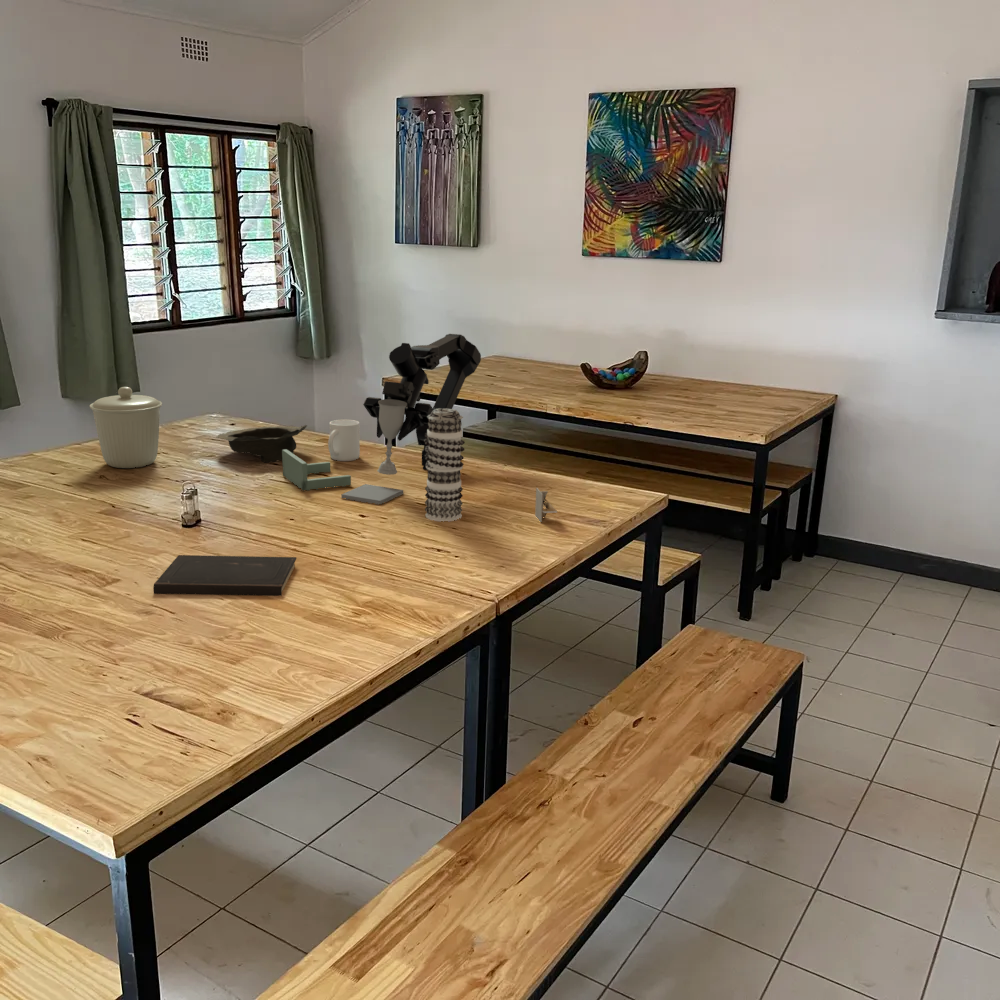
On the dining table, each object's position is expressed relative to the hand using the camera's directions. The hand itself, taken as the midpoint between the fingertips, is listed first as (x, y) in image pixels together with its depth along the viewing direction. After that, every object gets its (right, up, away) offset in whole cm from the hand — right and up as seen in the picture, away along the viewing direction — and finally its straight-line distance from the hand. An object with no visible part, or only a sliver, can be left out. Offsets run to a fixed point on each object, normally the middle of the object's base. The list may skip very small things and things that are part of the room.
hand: (388, 438), depth 244 cm
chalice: (-1, -8, +4) cm, 9 cm away
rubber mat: (-3, -14, -3) cm, 15 cm away
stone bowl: (-40, -3, +34) cm, 52 cm away
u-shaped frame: (-19, -10, +10) cm, 24 cm away
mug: (-17, -4, +32) cm, 36 cm away
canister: (-72, -6, +20) cm, 75 cm away
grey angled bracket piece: (+38, -21, -17) cm, 46 cm away
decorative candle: (+15, -19, -17) cm, 30 cm away
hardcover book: (-23, -31, -59) cm, 71 cm away
